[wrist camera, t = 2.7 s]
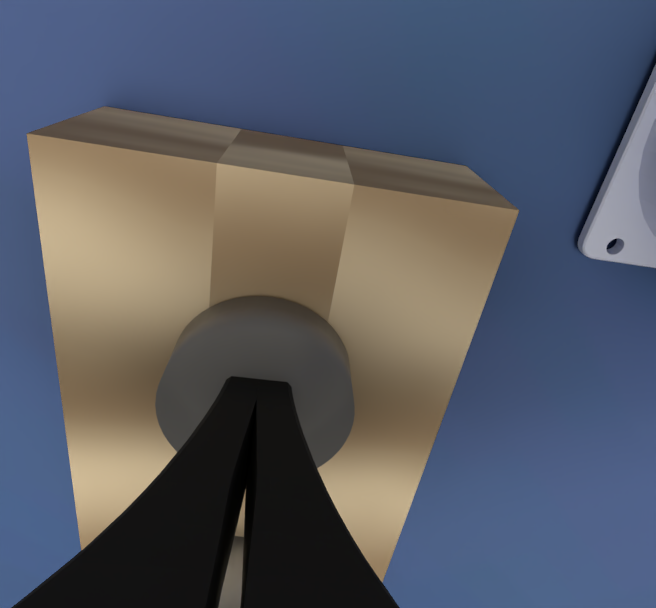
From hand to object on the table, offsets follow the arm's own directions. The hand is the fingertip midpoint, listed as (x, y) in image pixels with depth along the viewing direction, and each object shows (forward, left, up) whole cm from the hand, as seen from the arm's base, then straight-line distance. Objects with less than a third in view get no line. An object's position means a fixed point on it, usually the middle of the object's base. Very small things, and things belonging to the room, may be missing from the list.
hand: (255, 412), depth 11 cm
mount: (0, +8, -6) cm, 10 cm away
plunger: (0, 0, -6) cm, 6 cm away
